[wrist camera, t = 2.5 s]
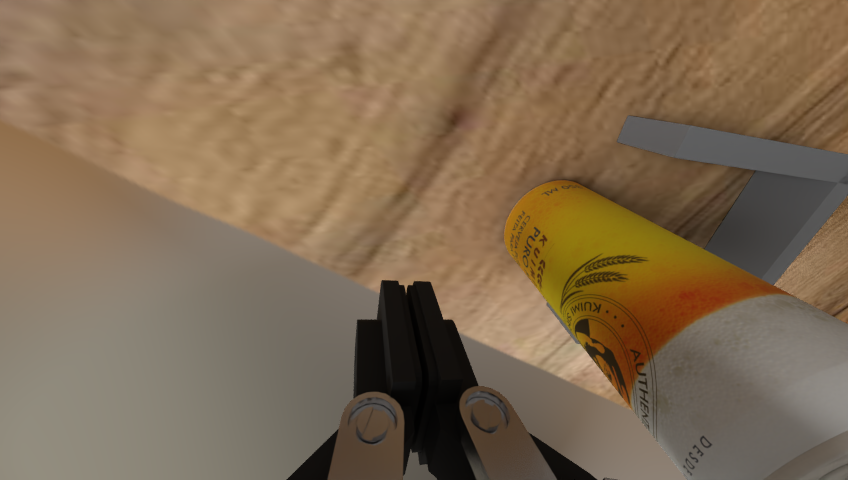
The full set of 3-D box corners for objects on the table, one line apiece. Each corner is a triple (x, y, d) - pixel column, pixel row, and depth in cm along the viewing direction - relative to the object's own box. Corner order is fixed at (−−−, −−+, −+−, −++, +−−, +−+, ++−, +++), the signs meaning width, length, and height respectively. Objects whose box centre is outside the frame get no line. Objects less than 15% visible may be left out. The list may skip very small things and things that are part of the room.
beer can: (485, 206, 19) (735, 489, 6) (575, 158, 18) (1068, 356, 5) (515, 273, 22) (727, 560, 9) (594, 233, 21) (943, 479, 8)
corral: (790, 145, 20) (877, 159, 17) (679, 308, 27) (725, 342, 23) (628, 115, 18) (691, 125, 14) (546, 304, 24) (576, 343, 21)
